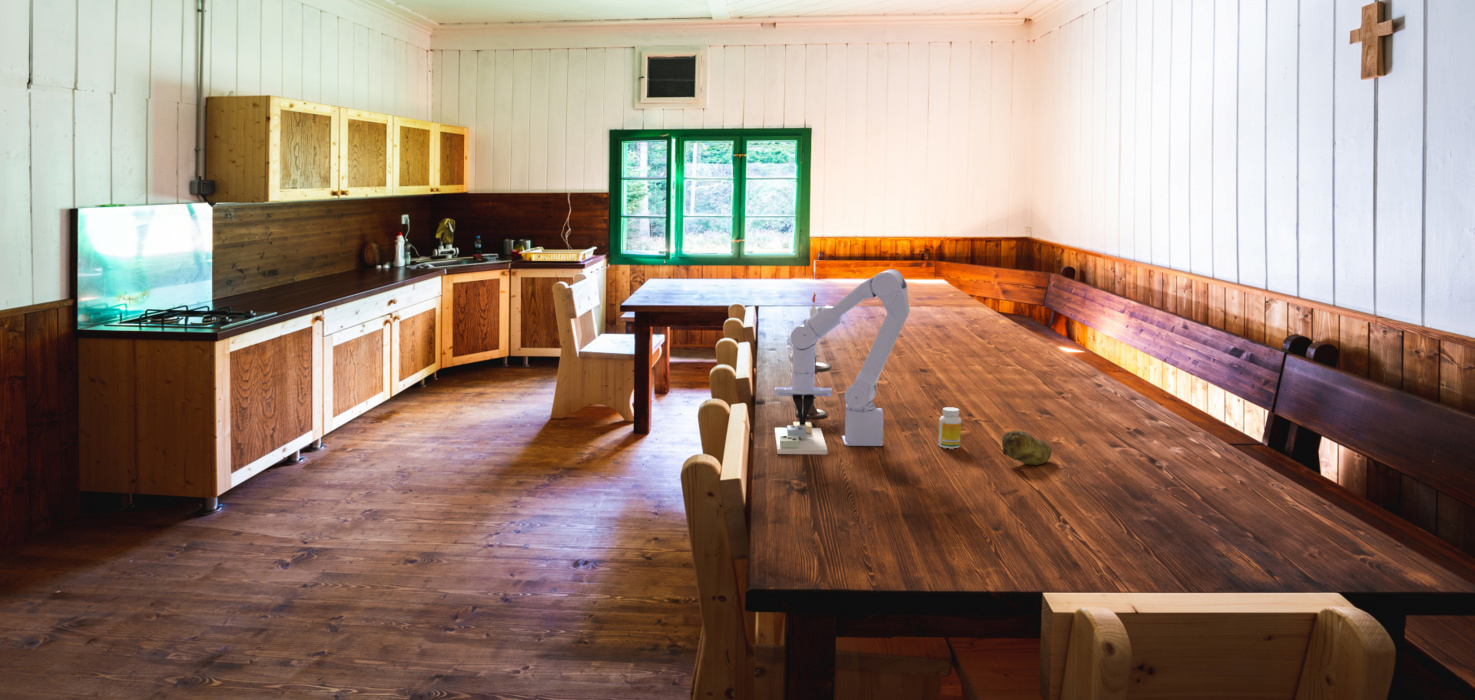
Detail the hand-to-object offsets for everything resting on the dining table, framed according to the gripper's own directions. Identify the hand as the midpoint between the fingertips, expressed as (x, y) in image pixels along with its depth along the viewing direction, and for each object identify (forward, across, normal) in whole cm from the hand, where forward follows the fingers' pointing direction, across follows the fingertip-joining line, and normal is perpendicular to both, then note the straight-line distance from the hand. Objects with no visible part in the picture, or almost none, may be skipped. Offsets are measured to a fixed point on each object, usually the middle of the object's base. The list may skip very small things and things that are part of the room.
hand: (802, 423), depth 229 cm
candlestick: (+4, -4, -23) cm, 24 cm away
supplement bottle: (+3, -36, +8) cm, 37 cm away
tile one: (+2, 0, 0) cm, 2 cm away
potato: (+3, -51, +22) cm, 56 cm away
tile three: (+2, +4, +13) cm, 14 cm away
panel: (+3, +1, +6) cm, 7 cm away
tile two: (+1, +2, +6) cm, 7 cm away
